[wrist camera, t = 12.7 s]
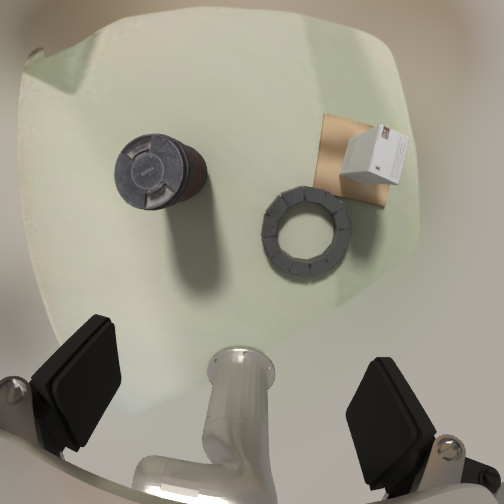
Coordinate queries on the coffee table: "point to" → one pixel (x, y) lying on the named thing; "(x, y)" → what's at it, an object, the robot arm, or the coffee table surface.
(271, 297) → the coffee table surface
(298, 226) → the coffee table surface
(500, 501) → the robot arm
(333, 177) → the pad
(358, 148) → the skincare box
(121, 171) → the camera lens
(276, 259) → the collar
